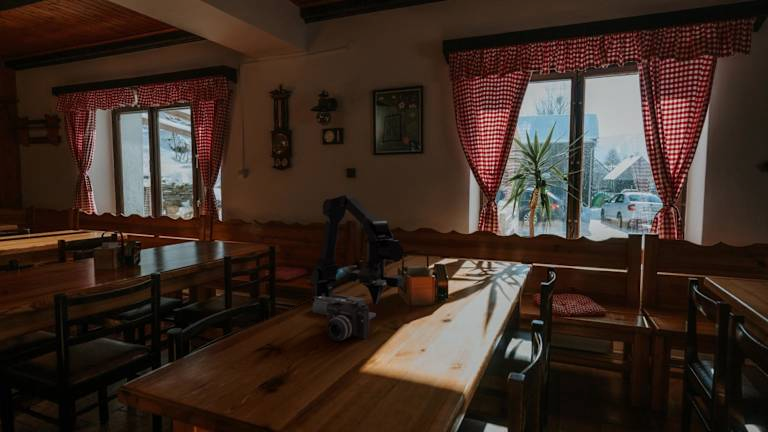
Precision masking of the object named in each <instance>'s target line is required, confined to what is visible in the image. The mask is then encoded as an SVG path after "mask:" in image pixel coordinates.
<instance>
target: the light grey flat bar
mask: <svg viewBox="0 0 768 432" xmlns="http://www.w3.org/2000/svg"><path fill="white" fill-rule="evenodd" d="M319 299H323V300H329V301H339V298H332V297H325V296H323V297H320V298H319ZM341 302H346V303H347V302H349V301H346V299H341Z"/></svg>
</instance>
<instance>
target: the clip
mask: <svg viewBox="0 0 768 432" xmlns="http://www.w3.org/2000/svg"><path fill="white" fill-rule="evenodd" d="M354 297H355V296H351V297H349V298H347V299H346V301H349V302H350V301H351V302H357V303H358V306H360V305H361V304H365V302H366V301H365V298H364V297H363V298H361V297H356V298H354Z"/></svg>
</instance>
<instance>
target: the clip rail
mask: <svg viewBox="0 0 768 432" xmlns="http://www.w3.org/2000/svg"><path fill="white" fill-rule="evenodd" d="M376 316H377V313H376V312H372V311H369V321H370V320H372V319H373V318H375V317H376Z"/></svg>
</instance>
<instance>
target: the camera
mask: <svg viewBox="0 0 768 432" xmlns="http://www.w3.org/2000/svg"><path fill="white" fill-rule="evenodd" d="M369 312H370V309H369V305H367V304H366V303H364V304H361V305H360V306H358V303H357V302H351V301H350V302H347V303H346V302H341V299H339V301H329V303H328V304H327V315H326V332H327V335H328V336H329V338H330V339H331V340H334V341H337V342H338V341H342V340H346V339H348V338H349V337H353V338H357V339H361V340H362V339H364V340H366V339H368V338H369V336H370V320H369Z"/></svg>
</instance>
